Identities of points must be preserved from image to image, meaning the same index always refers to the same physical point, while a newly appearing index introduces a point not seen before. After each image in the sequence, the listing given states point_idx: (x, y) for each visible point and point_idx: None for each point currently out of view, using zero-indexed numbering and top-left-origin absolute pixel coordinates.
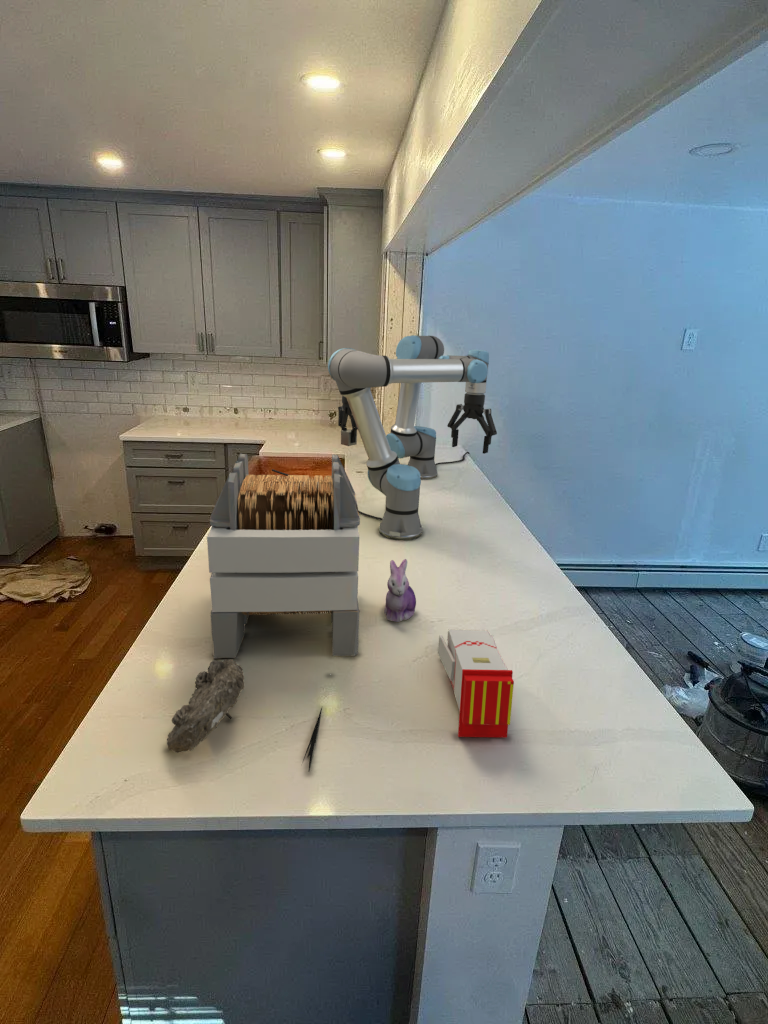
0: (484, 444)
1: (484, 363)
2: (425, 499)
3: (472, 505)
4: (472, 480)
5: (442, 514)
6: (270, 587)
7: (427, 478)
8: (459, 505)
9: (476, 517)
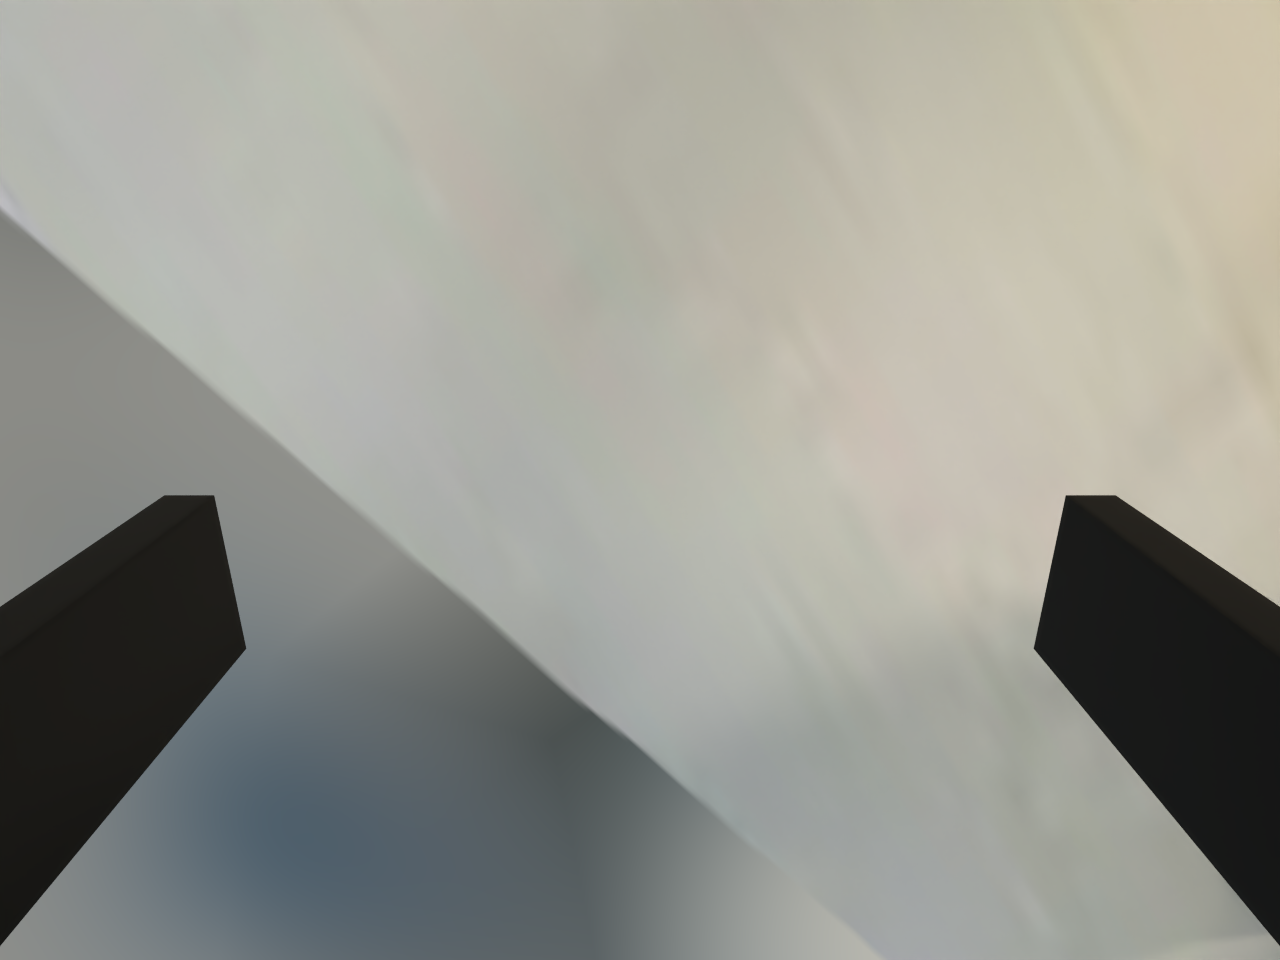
0: (20, 614)
1: None
2: (1065, 342)
3: (671, 502)
4: (962, 957)
5: (741, 97)
6: None
7: None
8: (751, 425)
9: (481, 267)
